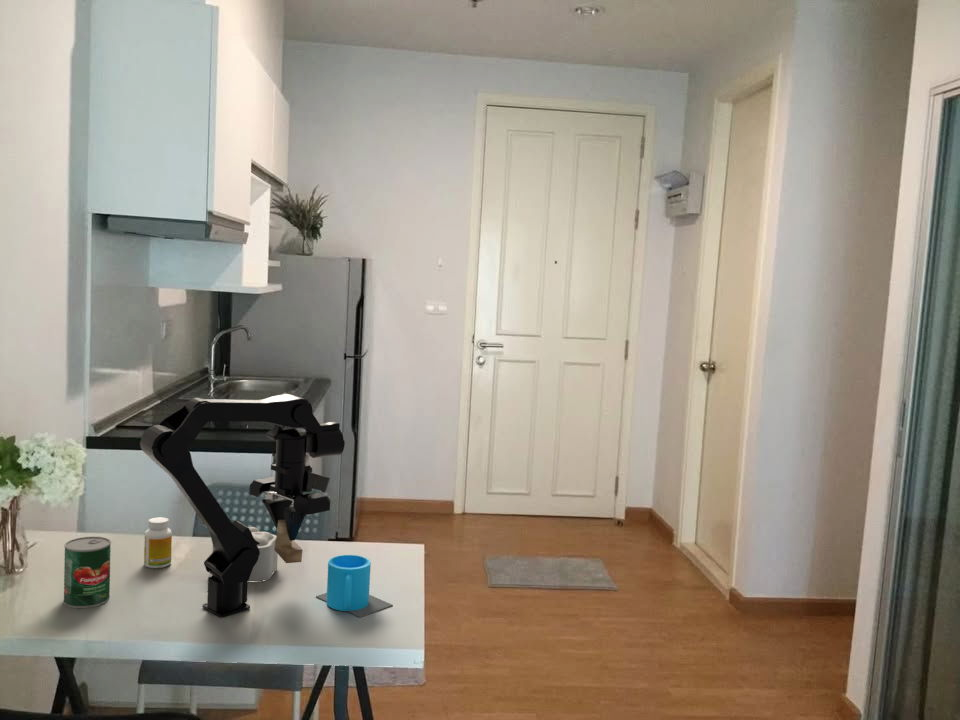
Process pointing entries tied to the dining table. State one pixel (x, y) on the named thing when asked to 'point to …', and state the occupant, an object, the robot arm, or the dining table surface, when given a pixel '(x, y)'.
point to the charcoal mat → (372, 606)
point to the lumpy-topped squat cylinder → (264, 555)
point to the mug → (348, 582)
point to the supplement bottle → (157, 543)
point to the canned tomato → (87, 572)
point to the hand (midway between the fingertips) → (287, 538)
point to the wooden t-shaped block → (286, 545)
